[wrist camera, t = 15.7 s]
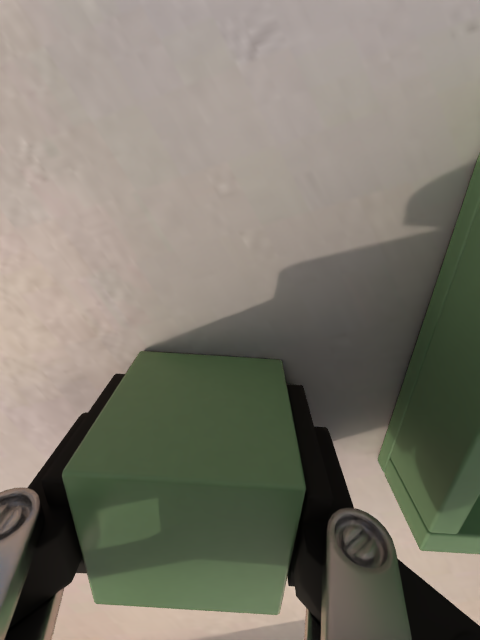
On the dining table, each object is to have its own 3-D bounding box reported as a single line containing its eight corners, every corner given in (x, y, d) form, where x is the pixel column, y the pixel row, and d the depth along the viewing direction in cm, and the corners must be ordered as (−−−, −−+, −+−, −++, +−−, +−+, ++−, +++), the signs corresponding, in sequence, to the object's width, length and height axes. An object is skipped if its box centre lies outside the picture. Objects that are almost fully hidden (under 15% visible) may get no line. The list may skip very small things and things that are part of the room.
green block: (139, 349, 10) (58, 473, 5) (282, 358, 10) (307, 489, 5) (149, 453, 11) (93, 605, 7) (268, 461, 11) (280, 617, 7)
